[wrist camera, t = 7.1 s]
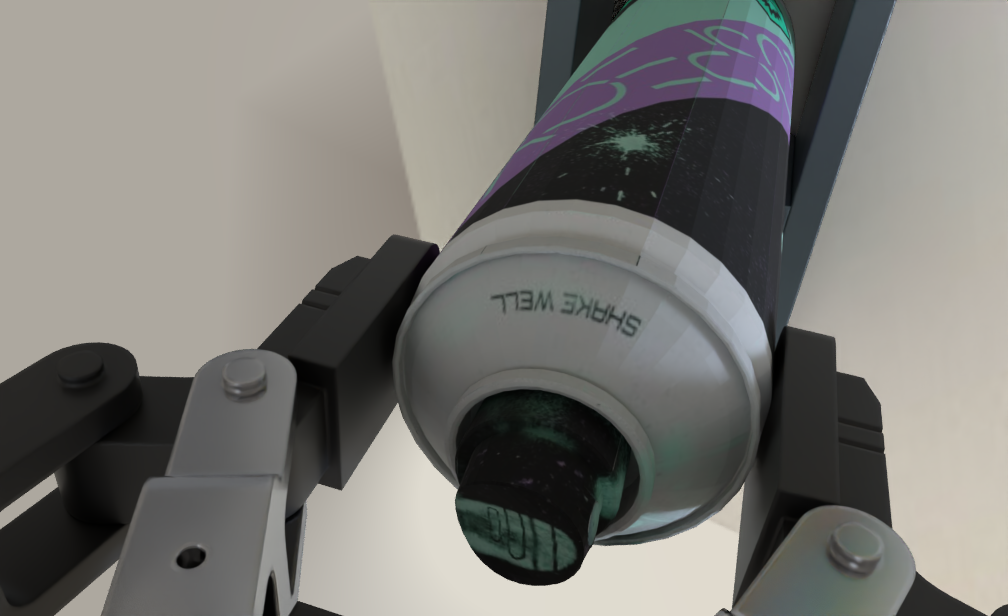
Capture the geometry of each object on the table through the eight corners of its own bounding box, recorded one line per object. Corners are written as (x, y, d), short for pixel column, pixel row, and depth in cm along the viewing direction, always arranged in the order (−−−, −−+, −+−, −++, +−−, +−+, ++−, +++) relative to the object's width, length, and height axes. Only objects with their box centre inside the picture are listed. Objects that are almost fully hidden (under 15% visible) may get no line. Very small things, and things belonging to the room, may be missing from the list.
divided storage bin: (548, 285, 37) (507, 364, 32) (604, -135, 28) (559, -112, 23) (762, 336, 35) (752, 428, 30) (899, -96, 26) (917, -61, 21)
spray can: (829, 80, 25) (851, 652, 9) (670, 166, 28) (480, 714, 12) (737, -84, 24) (574, 266, 8) (579, 25, 27) (223, 442, 11)
